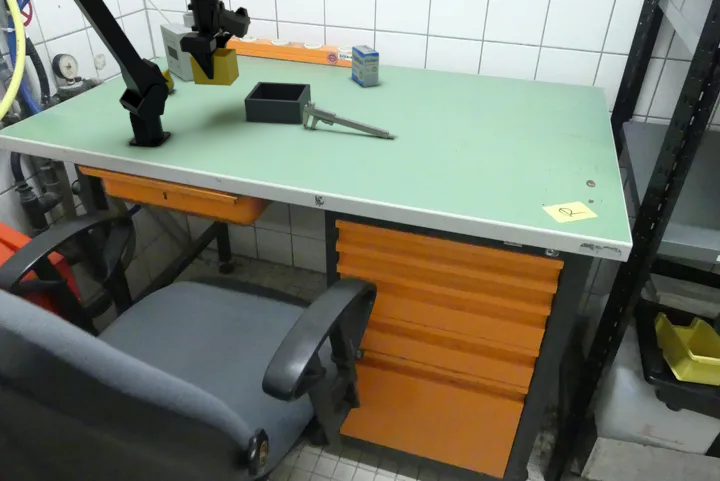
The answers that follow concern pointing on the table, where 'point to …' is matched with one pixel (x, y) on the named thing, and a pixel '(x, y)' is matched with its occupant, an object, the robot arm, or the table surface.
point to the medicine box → (365, 65)
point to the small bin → (218, 68)
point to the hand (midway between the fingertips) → (216, 74)
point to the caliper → (339, 121)
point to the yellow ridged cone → (168, 77)
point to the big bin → (277, 102)
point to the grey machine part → (178, 46)
